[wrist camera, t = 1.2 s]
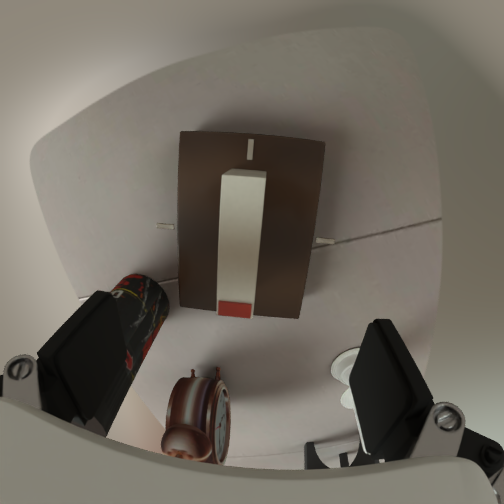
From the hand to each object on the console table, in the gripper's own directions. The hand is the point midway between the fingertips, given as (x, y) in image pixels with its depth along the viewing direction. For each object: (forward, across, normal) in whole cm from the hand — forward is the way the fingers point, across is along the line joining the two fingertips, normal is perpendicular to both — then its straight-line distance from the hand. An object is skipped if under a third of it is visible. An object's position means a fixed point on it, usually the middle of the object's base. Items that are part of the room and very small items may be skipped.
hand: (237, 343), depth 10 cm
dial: (+11, +1, 0) cm, 11 cm away
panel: (+14, +1, 0) cm, 15 cm away
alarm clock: (+15, +4, +20) cm, 25 cm away
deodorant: (+15, +11, +8) cm, 20 cm away
